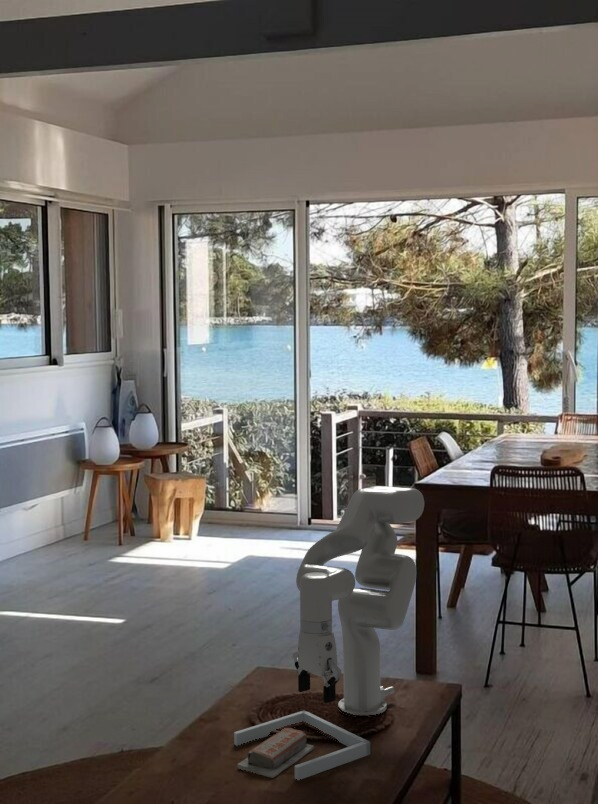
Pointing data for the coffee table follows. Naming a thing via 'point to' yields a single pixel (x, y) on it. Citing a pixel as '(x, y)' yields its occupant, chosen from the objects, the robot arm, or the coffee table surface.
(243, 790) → the coffee table surface
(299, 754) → the packaged product
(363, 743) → the open frame
